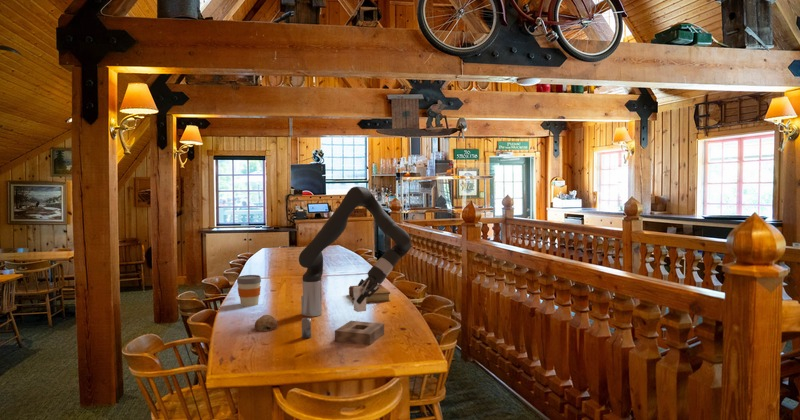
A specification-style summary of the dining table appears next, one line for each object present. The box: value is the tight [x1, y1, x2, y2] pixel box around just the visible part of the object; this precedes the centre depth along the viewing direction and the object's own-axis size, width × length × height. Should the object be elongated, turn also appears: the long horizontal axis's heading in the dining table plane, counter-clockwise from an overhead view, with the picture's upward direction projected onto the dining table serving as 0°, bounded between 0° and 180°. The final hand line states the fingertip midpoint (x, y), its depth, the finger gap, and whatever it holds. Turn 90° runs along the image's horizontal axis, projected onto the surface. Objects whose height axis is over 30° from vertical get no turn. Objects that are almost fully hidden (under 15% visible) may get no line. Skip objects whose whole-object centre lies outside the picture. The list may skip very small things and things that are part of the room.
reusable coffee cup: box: [236, 274, 262, 307], centre depth 281 cm, size 13×13×15 cm
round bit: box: [301, 317, 312, 339], centre depth 222 cm, size 4×4×8 cm
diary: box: [348, 284, 391, 304], centre depth 295 cm, size 23×19×6 cm
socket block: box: [334, 320, 385, 346], centre depth 222 cm, size 16×16×4 cm
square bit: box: [353, 285, 367, 313], centre depth 221 cm, size 4×4×10 cm
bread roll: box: [254, 314, 278, 332], centre depth 236 cm, size 10×10×8 cm
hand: (355, 301), depth 220 cm, fingers closed on square bit, 4 cm apart
